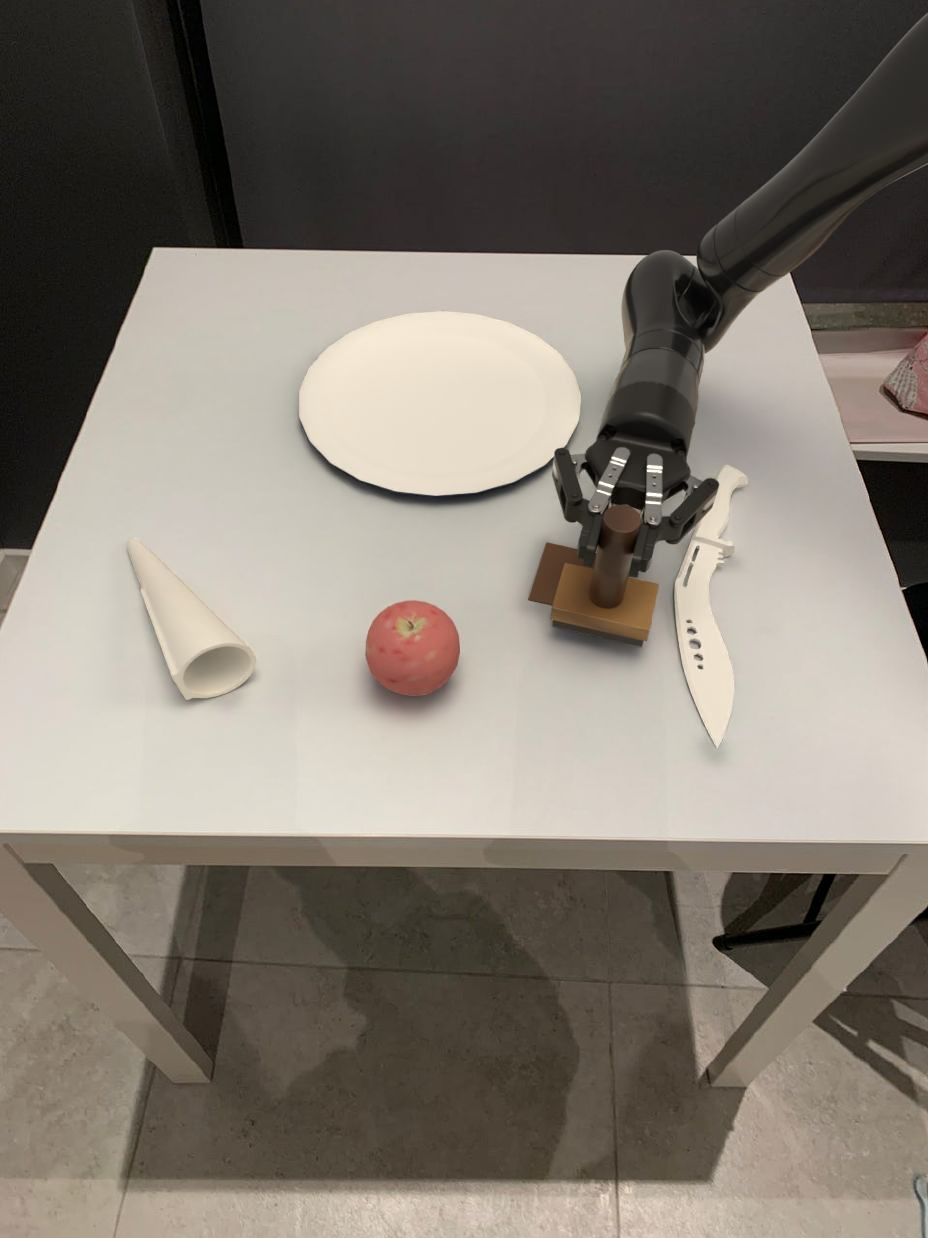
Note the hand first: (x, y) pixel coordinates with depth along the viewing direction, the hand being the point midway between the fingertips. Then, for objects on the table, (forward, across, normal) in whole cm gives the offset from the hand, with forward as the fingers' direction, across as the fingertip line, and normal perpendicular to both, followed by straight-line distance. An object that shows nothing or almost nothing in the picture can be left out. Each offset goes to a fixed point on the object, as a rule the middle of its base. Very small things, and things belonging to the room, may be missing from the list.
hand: (611, 564), depth 69 cm
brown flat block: (-8, -3, +12) cm, 14 cm away
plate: (-27, -22, +12) cm, 36 cm away
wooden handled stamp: (-3, 0, +10) cm, 10 cm away
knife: (-9, +9, +12) cm, 18 cm away
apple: (+6, -14, +12) cm, 19 cm away
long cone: (+5, -35, +12) cm, 37 cm away
